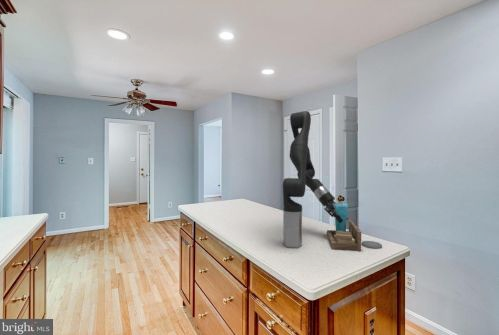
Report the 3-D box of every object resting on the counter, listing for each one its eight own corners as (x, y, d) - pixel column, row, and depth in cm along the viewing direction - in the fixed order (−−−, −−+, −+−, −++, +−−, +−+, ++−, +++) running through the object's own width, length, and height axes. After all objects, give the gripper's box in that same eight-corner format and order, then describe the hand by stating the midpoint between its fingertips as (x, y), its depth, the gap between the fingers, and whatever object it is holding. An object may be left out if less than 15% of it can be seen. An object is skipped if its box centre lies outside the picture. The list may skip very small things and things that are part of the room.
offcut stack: (355, 249, 119) (355, 236, 118) (336, 248, 120) (336, 235, 120) (351, 243, 127) (351, 231, 127) (333, 242, 129) (333, 230, 129)
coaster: (384, 249, 118) (384, 247, 118) (364, 248, 120) (364, 246, 120) (378, 243, 127) (378, 241, 127) (359, 241, 129) (359, 240, 129)
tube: (345, 237, 136) (345, 202, 135) (349, 240, 131) (350, 204, 130) (331, 238, 135) (332, 202, 134) (335, 241, 130) (336, 204, 130)
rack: (361, 251, 116) (361, 232, 116) (331, 249, 119) (332, 230, 118) (351, 236, 137) (351, 220, 137) (326, 235, 140) (327, 219, 139)
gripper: (321, 192, 133) (342, 219, 124) (334, 190, 143) (355, 214, 134) (312, 201, 137) (332, 227, 128) (325, 198, 147) (345, 222, 138)
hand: (344, 220), depth 131 cm, fingers closed on tube, 5 cm apart
